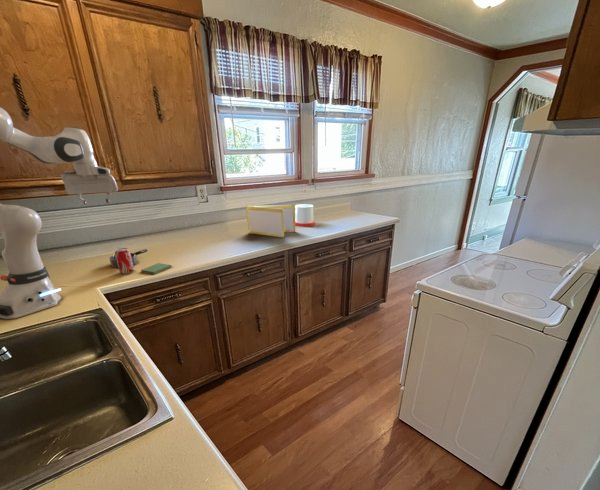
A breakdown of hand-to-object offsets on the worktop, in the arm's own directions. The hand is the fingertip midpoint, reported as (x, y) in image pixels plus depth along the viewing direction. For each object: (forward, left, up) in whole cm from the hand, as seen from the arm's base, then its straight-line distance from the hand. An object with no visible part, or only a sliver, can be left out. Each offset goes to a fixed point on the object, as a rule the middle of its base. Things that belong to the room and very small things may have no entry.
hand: (96, 203), depth 148 cm
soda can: (+5, -1, -35) cm, 35 cm away
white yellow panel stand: (+104, -33, -35) cm, 115 cm away
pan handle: (+26, +11, -32) cm, 42 cm away
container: (+146, -40, -35) cm, 155 cm away
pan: (+14, +11, -35) cm, 39 cm away
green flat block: (+14, -12, -35) cm, 39 cm away
